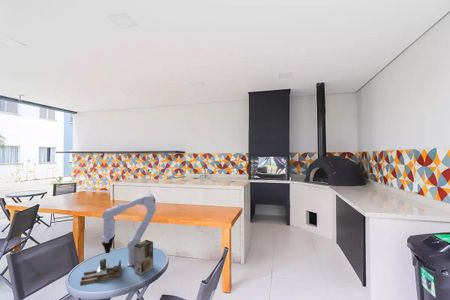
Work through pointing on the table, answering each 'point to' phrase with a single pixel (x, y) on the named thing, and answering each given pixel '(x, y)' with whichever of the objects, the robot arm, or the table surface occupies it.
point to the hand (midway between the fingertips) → (108, 250)
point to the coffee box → (143, 257)
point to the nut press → (92, 277)
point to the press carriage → (102, 267)
